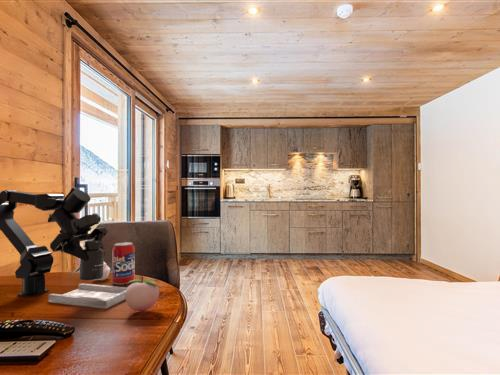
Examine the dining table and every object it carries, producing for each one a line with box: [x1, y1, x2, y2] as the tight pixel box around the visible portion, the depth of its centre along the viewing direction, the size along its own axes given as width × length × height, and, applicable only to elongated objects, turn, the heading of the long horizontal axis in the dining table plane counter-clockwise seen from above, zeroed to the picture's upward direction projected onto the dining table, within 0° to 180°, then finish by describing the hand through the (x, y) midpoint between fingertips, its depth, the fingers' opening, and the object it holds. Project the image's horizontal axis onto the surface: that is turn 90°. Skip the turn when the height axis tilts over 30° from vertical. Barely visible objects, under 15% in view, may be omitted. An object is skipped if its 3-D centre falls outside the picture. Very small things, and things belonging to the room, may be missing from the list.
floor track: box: [48, 283, 128, 310], centre depth 95 cm, size 22×12×2 cm, turn 74°
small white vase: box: [96, 261, 111, 281], centre depth 117 cm, size 6×6×7 cm
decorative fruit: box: [125, 276, 160, 313], centre depth 83 cm, size 9×8×10 cm
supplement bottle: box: [78, 240, 105, 281], centre depth 95 cm, size 7×7×12 cm
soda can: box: [111, 242, 136, 286], centre depth 112 cm, size 8×8×15 cm
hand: (95, 257), depth 95 cm, fingers closed on supplement bottle, 7 cm apart
